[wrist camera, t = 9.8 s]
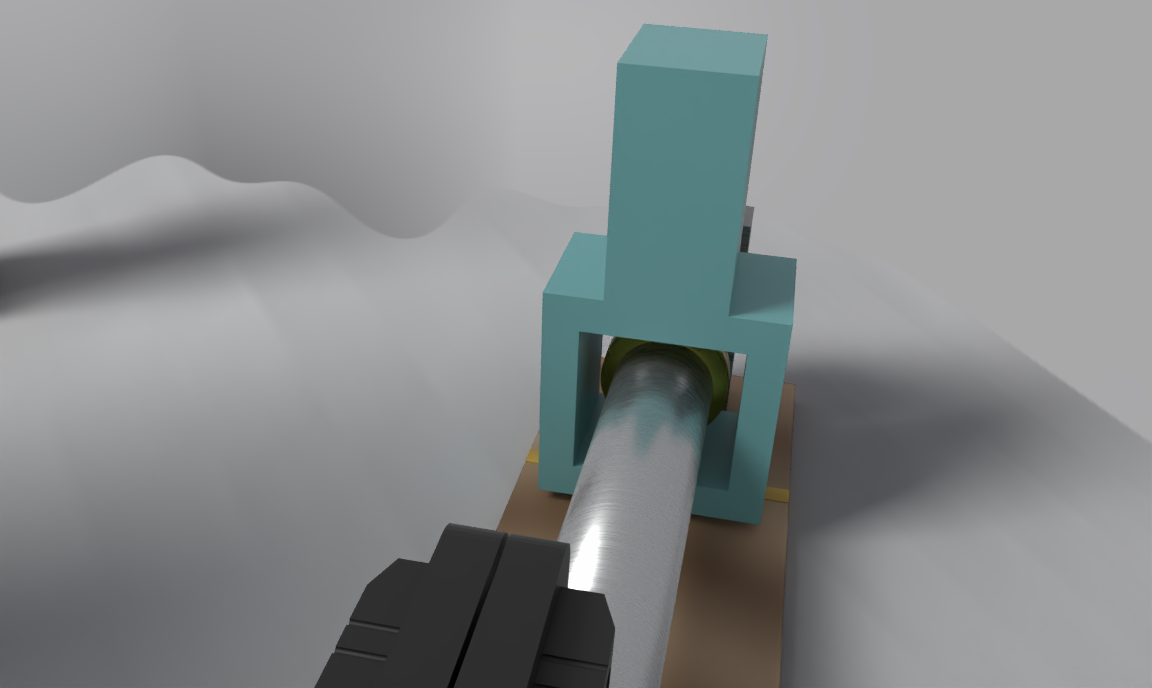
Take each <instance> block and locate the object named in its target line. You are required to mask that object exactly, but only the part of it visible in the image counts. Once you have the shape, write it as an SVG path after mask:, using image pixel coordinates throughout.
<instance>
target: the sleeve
mask: <svg viewBox="0 0 1152 688" xmlns="http://www.w3.org/2000/svg"><path fill="white" fill-rule="evenodd" d="M767 36H768V35H766V34H765V35H764V34H755V33H743V32H732V31H720V30H709V29H696V28H686V27H674V26H663V25H652V24H643V26H642V27H641V29H640V30H639V32H638V33H637V35H636V36H635V38H634V39H633V41H632V42H631V44H630V45H629V46H628V48H627V50H626V51H625V52H624V54H623V55H622V57H621V58H620V60H619V61H618V63H617V78H616V96H615V113H614V130H613V148H612V164H611V182H610V198H609V199H610V200H609V215H608V233H607V236H603V235H595V234H586V233H578V232H575V233H574V234H573V236H572V238H571V240H570V242H569V244H568V246H567V248H566V250H565V252H564V253H563V255H562V257H561V259H560V261H559V263H558V265H557V267H556V269H555V271H554V272H553V274H552V276H551V278H550V280H549V282H548V284H547V286H546V288H545V290H544V291H543V307H542V347H541V387H540V426H539V466H538V489H541V490H547V491H553V492H559V493H566V494H572V495H573V493H574V490H575V487H576V484H577V481H578V478H579V476H580V473H581V470H582V467H583V464H584V461H585V458H586V455H587V452H588V449H589V446H590V443H591V441H592V438H593V435H594V432H595V429H596V426H597V423H598V420H599V417H600V414H601V411H602V408H603V405H604V403H605V398H604V395H603V393H599V388H600V371H601V354H602V337H603V335H609V336H617V337H624V338H631V339H639V340H646V341H653V342H661V343H668V344H675V345H683V346H690V347H697V348H705V349H712V350H719V351H727V352H734V353H741V354H747V358H746V365H745V372H744V379H743V386H742V393H741V400H740V407H739V413H735V412H728V411H722V410H721V412H720V413H719V415H718V416H717V417H716V418H715V420H714V421H712V422H711V423H710V424H709V425H708V426H707V427H706V432H705V438H704V444H703V449H702V455H701V460H700V466H699V472H698V477H697V483H696V488H695V494H694V500H693V505H692V511H691V514H695V515H701V516H708V517H714V518H720V519H726V520H732V521H738V522H745V523H751V524H757V525H760V522H761V516H762V510H763V504H764V498H765V492H766V486H767V479H768V473H769V467H770V461H771V455H772V449H773V443H774V437H775V430H776V424H777V418H778V412H779V406H780V400H781V394H782V388H783V381H784V375H785V369H786V363H787V357H788V351H789V345H790V339H791V332H792V326H793V311H794V295H795V278H796V261H797V259H793V258H785V257H777V256H768V255H760V254H752V253H743V252H740V246H741V238H742V231H743V223H744V215H745V207H746V199H747V191H748V184H749V176H750V168H751V160H752V153H753V145H754V137H755V129H756V121H757V114H758V106H759V99H760V91H761V83H762V75H763V68H764V60H765V51H766V44H767Z"/></svg>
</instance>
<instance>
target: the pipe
mask: <svg viewBox="0 0 1152 688" xmlns="http://www.w3.org/2000/svg"><path fill="white" fill-rule="evenodd" d="M753 212H754V207H749V206H746V207H745V215H744V223H743V231H742V238H741V246H740V252H743V253H748V249H749V242H750V234H751V227H752V219H753ZM734 354H735V353H734V352H727V351H719V350H712V349H705V348H697V347H690V346H683V345H675V344H668V343H661V342H653V341H646V340H639V339H631V338H624V337H617V336H614V337H613V339H612V341H611V343H610V345H609V348H608V351H607V354H606V356H605V359H604V362H603V365H602V368H601V388H602V392H603V395H604V398H605V403H604V405H603V408H602V411H601V414H600V417H599V420H598V423H597V426H596V429H595V432H594V435H593V438H592V441H591V443H590V446H589V449H588V452H587V455H586V458H585V461H584V464H583V467H582V470H581V473H580V476H579V478H578V481H577V484H576V487H575V490H574V493H573V496H572V499H571V502H570V505H569V508H568V511H567V514H566V516H565V519H564V522H563V525H562V528H561V531H560V534H559V537H558V540H557V541H558V542H564V543H569V544H570V566H569V580H568V588H573V589H579V590H585V591H591V592H596V593H602V594H605V598H606V601H607V604H608V607H609V610H610V613H611V616H612V619H613V623H614V626H615V637H614V647H613V656H612V665H611V674H610V684H609V688H660V684H661V679H662V673H663V667H664V662H665V656H666V651H667V645H668V640H669V634H670V628H671V623H672V617H673V612H674V606H675V600H676V595H677V589H678V584H679V578H680V572H681V567H682V561H683V556H684V550H685V544H686V539H687V533H688V528H689V522H690V516H691V511H692V505H693V500H694V494H695V488H696V483H697V477H698V472H699V466H700V460H701V455H702V449H703V444H704V438H705V432H706V427H707V426H708V425H709V424H710V423H711V422H712V421H714V420H715V418H716V417H717V416H718V415H719V413H720V412H721V410H722V411H727V405H728V398H729V392H730V384H731V377H732V369H733V362H734Z"/></svg>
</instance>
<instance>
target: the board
mask: <svg viewBox="0 0 1152 688" xmlns="http://www.w3.org/2000/svg"><path fill="white" fill-rule="evenodd" d="M604 359H605V358H604V357H601V368H602V365H603V362H604ZM743 379H744V377H740V376H732V377H731V384H730V392H729V398H728V405H727V411H728V412H735V413H739V407H740V400H741V393H742V386H743ZM794 391H795V384H790V383H783V388H782V394H781V400H780V406H779V412H778V418H777V424H776V430H775V437H774V443H773V449H772V455H771V461H770V467H769V473H768V479H767V486H766V492H765V498H764V504H763V510H762V516H761V522H760V525H757V524H751V523H745V522H738V521H732V520H726V519H720V518H714V517H708V516H701V515H695V514H691V516H690V522H689V528H688V533H687V539H686V544H685V550H684V556H683V561H682V567H681V572H680V578H679V584H678V589H677V595H676V600H675V606H674V612H673V617H672V623H671V628H670V634H669V640H668V645H667V651H666V656H665V662H664V667H663V673H662V679H661V684H660V688H779V687H780V667H781V647H782V628H783V608H784V588H785V569H786V549H787V529H788V509H789V492H790V470H791V450H792V431H793V411H794ZM599 393H603V392H602V388H601V371H600V388H599ZM538 466H539V431H538V433H537V436H536V438H535V441H534V443H533V445H532V448H531V450H530V451H529V454H528V456H527V458H526V461H525V464H524V466H523V469H522V471H521V473H520V476H519V478H518V481H517V483H516V485H515V488H514V490H513V492H512V495H511V497H510V499H509V502H508V504H507V506H506V509H505V511H504V513H503V516H502V518H501V520H500V523H499V525H498V528H497V530H496V531H500V532H506V533H508V535H509V536H510V535H511V534H516V535H522V536H528V537H534V538H540V539H546V540H552V541H557V540H558V537H559V534H560V531H561V528H562V525H563V522H564V519H565V516H566V514H567V511H568V508H569V505H570V502H571V499H572V496H573V495H572V494H566V493H559V492H553V491H547V490H541V489H538Z"/></svg>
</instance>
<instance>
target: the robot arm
mask: <svg viewBox="0 0 1152 688" xmlns="http://www.w3.org/2000/svg"><path fill="white" fill-rule="evenodd" d="M569 566H570V544H569V543H564V542H558V541H552V540H546V539H540V538H534V537H528V536H522V535H516V534H511V535H510V536H509V535H508V533H506V532H500V531H494V530H488V529H482V528H475V527H469V526H463V525H457V524H451V523H450V524H448V525H447V526H446V528H445V529H444V531H443V533H442V535H441V538H440V540H439V542H438V544H437V547H436V549H435V551H434V553H433V556H432V558H431V560H430V562H429V563H423V562H417V561H411V560H406V559H400V558H398V559H397V560H396V561H395V562H394V563H392V564H391V565H390V566H389V567H388V568H387V569H385V570H384V571H383V572H382V573H381V574H379V575H378V576H377V577H376V578H375V579H373V580H372V581H371V582H370V583H369V584H367V586H366V588H365V590H364V592H363V594H362V596H361V598H360V600H359V602H358V604H357V606H356V608H355V609H354V611H353V613H352V615H351V617H350V622H349V625H346V627H345V629H344V631H343V633H342V635H341V637H340V639H339V641H338V643H337V645H336V649H335V653H332V654H331V656H330V658H329V660H328V662H327V664H326V666H325V668H324V670H323V672H322V674H321V676H320V678H319V680H318V682H317V684H316V686H315V688H609V684H610V674H611V665H612V656H613V647H614V637H615V626H614V623H613V619H612V616H611V613H610V610H609V607H608V604H607V601H606V598H605V594H602V593H596V592H591V591H585V590H579V589H573V588H568V580H569Z"/></svg>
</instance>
